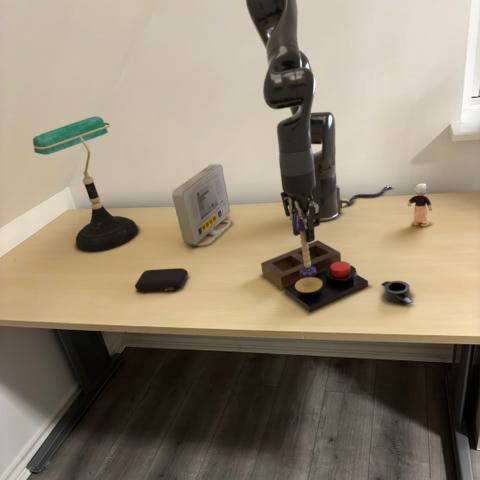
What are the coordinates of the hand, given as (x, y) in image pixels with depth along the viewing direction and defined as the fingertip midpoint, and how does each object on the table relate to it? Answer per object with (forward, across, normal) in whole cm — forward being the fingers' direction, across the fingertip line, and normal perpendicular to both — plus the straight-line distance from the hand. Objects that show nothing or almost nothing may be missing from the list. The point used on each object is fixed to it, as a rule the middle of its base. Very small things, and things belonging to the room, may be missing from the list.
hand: (303, 237), depth 120 cm
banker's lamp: (+17, +83, +33) cm, 91 cm away
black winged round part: (+17, -15, -16) cm, 28 cm away
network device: (+17, +56, +3) cm, 59 cm away
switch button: (+14, 0, -10) cm, 17 cm away
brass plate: (+14, 0, 0) cm, 14 cm away
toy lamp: (+10, 0, 0) cm, 10 cm away
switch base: (+17, 0, -5) cm, 18 cm away
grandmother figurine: (+17, +11, -48) cm, 52 cm away
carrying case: (+17, +34, +29) cm, 48 cm away
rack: (+17, +13, -6) cm, 22 cm away
